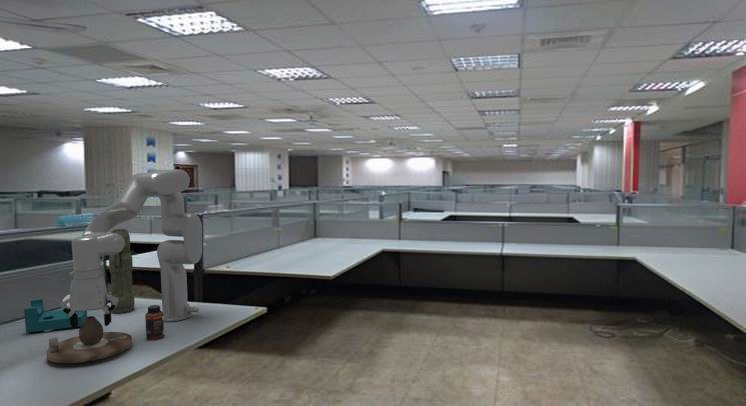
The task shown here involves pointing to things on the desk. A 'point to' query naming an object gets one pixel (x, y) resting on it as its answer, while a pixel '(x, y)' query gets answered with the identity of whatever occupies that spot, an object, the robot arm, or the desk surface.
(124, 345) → the disc
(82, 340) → the vase
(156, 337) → the supplement bottle
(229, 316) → the desk surface
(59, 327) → the teal l-shaped bracket
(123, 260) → the thermos
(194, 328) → the desk surface
